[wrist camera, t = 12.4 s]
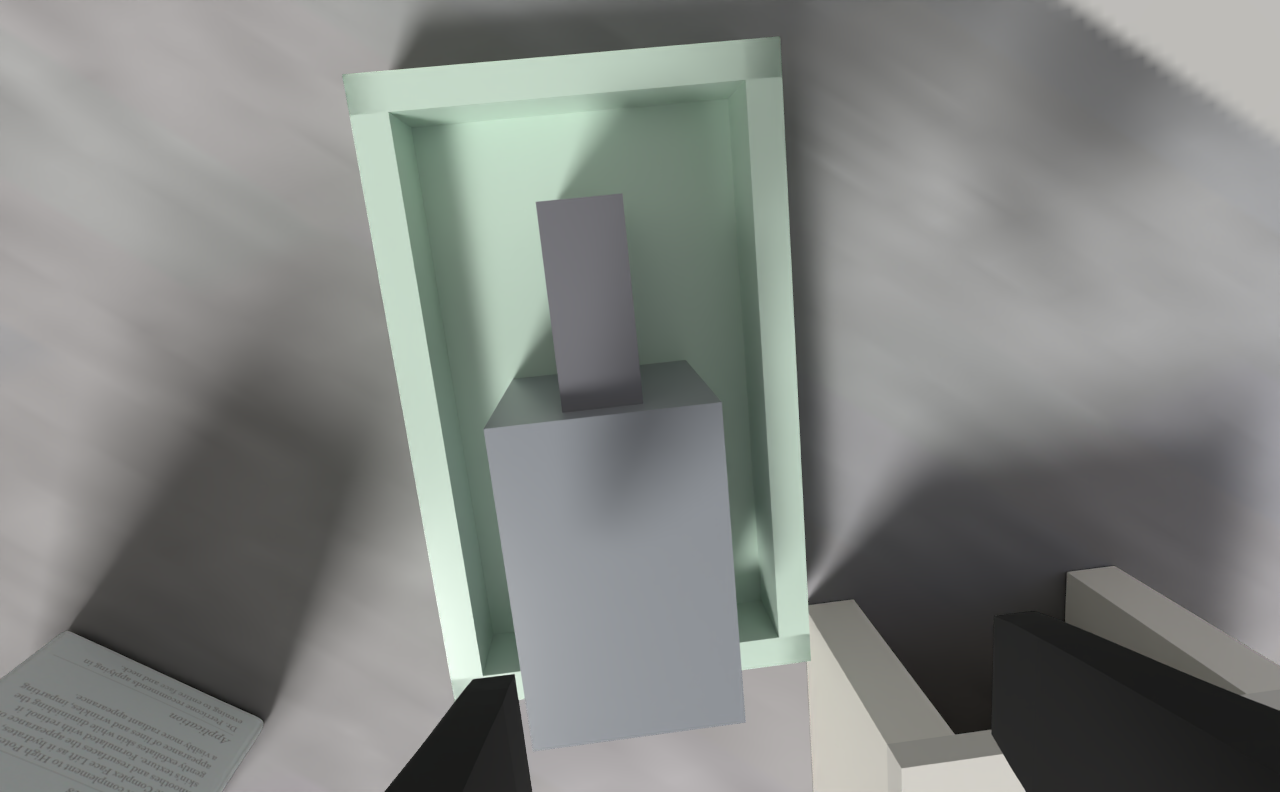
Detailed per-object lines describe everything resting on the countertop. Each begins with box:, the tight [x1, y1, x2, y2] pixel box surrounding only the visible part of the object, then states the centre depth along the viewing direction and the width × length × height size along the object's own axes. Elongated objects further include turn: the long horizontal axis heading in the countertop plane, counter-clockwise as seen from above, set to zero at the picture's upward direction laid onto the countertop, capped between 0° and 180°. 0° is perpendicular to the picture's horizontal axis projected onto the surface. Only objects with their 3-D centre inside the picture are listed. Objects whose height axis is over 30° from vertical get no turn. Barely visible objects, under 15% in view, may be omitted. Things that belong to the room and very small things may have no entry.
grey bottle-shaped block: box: [484, 193, 745, 751], centre depth 16 cm, size 4×11×5 cm, turn 6°
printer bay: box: [807, 566, 1280, 792], centre depth 18 cm, size 10×8×6 cm
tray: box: [342, 36, 811, 701], centre depth 17 cm, size 9×15×2 cm, turn 6°
